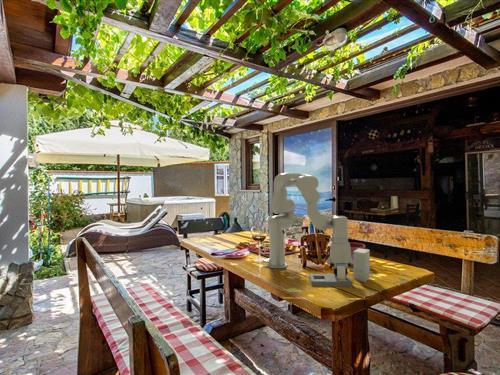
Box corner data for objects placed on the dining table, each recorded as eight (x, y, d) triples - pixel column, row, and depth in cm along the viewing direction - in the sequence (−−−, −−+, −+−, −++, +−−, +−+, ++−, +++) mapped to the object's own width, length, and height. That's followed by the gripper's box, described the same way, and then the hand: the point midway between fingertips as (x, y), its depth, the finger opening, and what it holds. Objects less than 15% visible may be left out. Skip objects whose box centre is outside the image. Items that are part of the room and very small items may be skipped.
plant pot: (348, 269, 176) (348, 248, 176) (337, 263, 190) (337, 243, 189) (370, 267, 179) (370, 246, 178) (357, 261, 192) (357, 241, 192)
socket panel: (311, 287, 148) (311, 280, 148) (309, 279, 160) (309, 273, 160) (352, 287, 146) (352, 281, 146) (347, 279, 158) (347, 273, 158)
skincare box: (358, 276, 164) (358, 247, 163) (370, 278, 160) (370, 249, 159) (352, 280, 157) (352, 250, 157) (365, 282, 153) (365, 252, 153)
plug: (337, 281, 151) (337, 263, 151) (335, 278, 155) (335, 261, 155) (345, 281, 150) (345, 263, 150) (343, 278, 154) (343, 261, 154)
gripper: (324, 241, 149) (325, 277, 150) (358, 241, 148) (359, 278, 148) (322, 238, 157) (322, 273, 157) (355, 238, 155) (355, 273, 156)
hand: (340, 275), depth 153 cm, fingers closed on plug, 4 cm apart
